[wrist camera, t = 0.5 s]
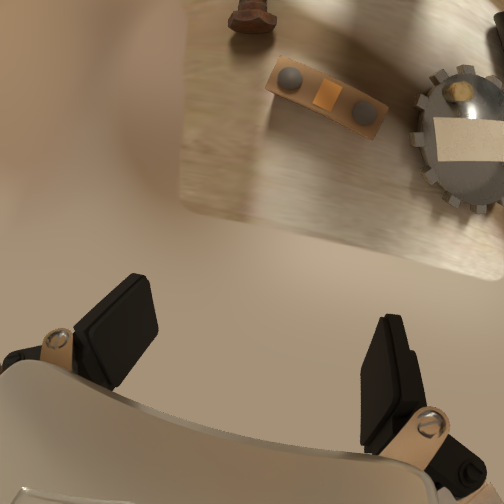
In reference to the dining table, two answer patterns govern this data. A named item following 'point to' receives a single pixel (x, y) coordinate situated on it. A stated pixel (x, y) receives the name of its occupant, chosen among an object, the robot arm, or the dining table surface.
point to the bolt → (252, 18)
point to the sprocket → (463, 137)
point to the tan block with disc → (327, 97)
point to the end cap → (500, 25)
